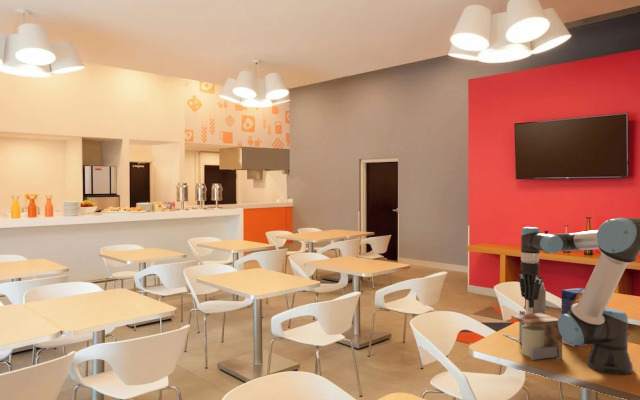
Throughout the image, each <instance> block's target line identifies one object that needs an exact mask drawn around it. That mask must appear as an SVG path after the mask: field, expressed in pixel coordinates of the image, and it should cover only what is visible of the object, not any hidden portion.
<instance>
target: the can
mask: <svg viewBox="0 0 640 400" xmlns="http://www.w3.org/2000/svg"><path fill="white" fill-rule="evenodd" d="M536 348H545V328H544V327H542V326H530V325H527V324H525V325H522V343H521V350H520V353H521V354H522V355H523V356H525V357H528V358H531V349H536Z"/></svg>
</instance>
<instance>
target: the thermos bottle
mask: <svg viewBox="0 0 640 400" xmlns="http://www.w3.org/2000/svg"><path fill="white" fill-rule="evenodd" d="M538 278H539V279H540V280H542V281H543V276H541V275H538ZM546 291H547V289H546V287H545V283H544V282H542V283H541V286H540V291H539V295H538V299H537V300H534V307H533V314H534V313H543V314H546V309H547V308H546V305H547V304H546V299H547V298H546V295H547V294H546V293H547V292H546Z"/></svg>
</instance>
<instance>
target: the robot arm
mask: <svg viewBox="0 0 640 400" xmlns="http://www.w3.org/2000/svg"><path fill="white" fill-rule="evenodd" d="M520 239H521V240H520V243H521V244H520V246H521V247H520V270H521V274H518V275H517V278H518V281H519V287H520V294H521V297H523V299H524V302H525V303H524V306H525V314H533V307H534V300H537V299H538V295H539V291H540V286H541V283H544V281H543V279H542V280H540V279H539V278H538V276H539V273H538V272H539V271H540V263H539V262H540V252H545V253H549V254H550V253H551V254H552V253H553V254H557V253H558V252H570V251H571V252H573V251H574V252H576V251H577V252H579V251H580V252H581V251H584V250H585V251H588V250H599V253H600V255H599V257H598V259H597V262H596V263H595V266H594V268H593V271H592V273H591V275H590V277H589V279H588V282H587V283H586V285H585V288H584V289H585V290H584V292H583V294H582V296H581V298H580V300H579V303H575V304H573V305H572V307H571V309H570V311H569V313H568V314H563V315H562V314H561V315H559V317H558V329H559V332H560V334H561V336H562V337H563V339H564V340H565V341H566V342H568V343H569V344H572V345H584V344H591V345H592V346H591V348H590V351H589V353H588V356H587V359H586V360H587V363H586V364H587V366H588V367H590V368H591V369H593V370H596V371H599V372H602V373H606V374H612V375H629V374H632V373H633V371H634V370H633V369H634V368H633V363H632V361H631V357H630V355H629V351H628V345H629V344H628V343H629V339H628V337H629V331H628V330H629V320H628V314H627V313H626V312H625V311H622V310H619V309H615V308H611V307H607V306H608V304H609V303H610V300H611V298H612V296H613V295H614V293H615V291H616V289H617V286H618V284H619V282H620V281H621V279H622V277H623V275H624V272H625V270H626V268H627V267H628V264H633V263H635V262H636V260H637V258H638V257H639V255H640V217H629V218H627V217H617V218H611V219H607V220H606V221H604V222H603V223H602V224H601V225H600V226H599V227H598V229H596V230H588V231H580V232H579V231H578V232H571V233H569V232H567V233H541V230H540V228H539V227H535V226H532V227H531V226H523V227H522V228H521V234H520ZM569 344H568V345H569Z"/></svg>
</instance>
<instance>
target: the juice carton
mask: <svg viewBox="0 0 640 400" xmlns="http://www.w3.org/2000/svg"><path fill="white" fill-rule="evenodd" d="M584 290H585V288H583V287H577V288H567V289H561V315H563V314H568V313H569V311H570V309H571V307H572V305H573V304H575V303H579V300H580V298H581V296H582V294H583V292H584ZM562 344H565V345H569V346H572V347H574V348H578V347H584V346H589V345H592V344H584V345H572V344H569V343H568V342H566V341H565V340H564V339H563V337H562Z"/></svg>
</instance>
